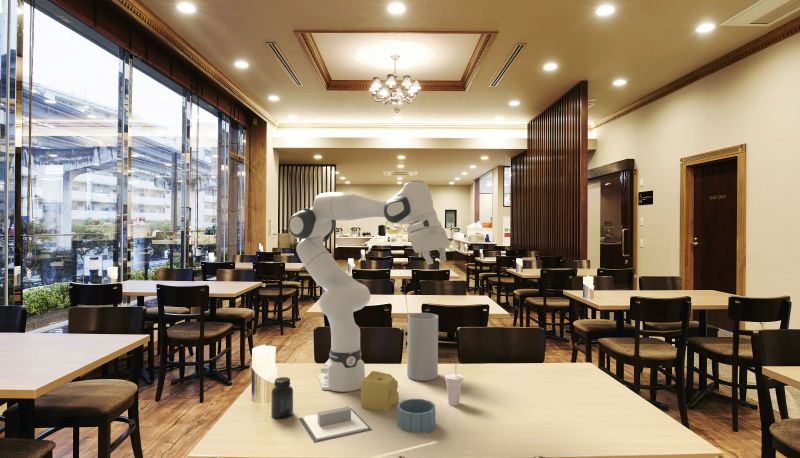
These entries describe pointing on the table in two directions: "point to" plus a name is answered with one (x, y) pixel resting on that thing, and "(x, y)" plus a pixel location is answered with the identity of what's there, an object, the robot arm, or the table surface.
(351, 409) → the mat
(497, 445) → the table surface
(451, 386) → the smoothie
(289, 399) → the supplement bottle
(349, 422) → the square lid
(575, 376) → the table surface
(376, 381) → the cheese
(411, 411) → the bowl
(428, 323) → the cylinder vase
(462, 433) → the table surface
